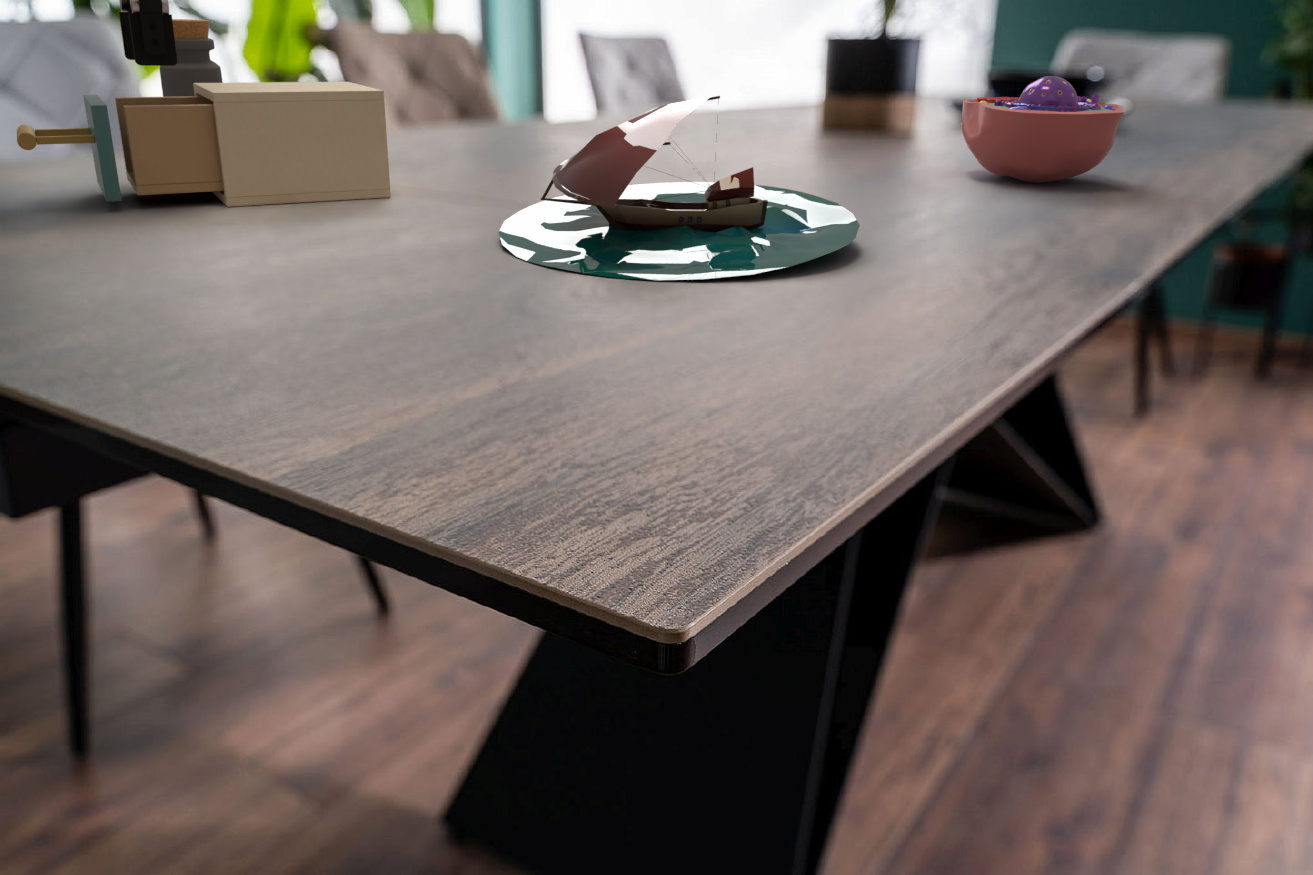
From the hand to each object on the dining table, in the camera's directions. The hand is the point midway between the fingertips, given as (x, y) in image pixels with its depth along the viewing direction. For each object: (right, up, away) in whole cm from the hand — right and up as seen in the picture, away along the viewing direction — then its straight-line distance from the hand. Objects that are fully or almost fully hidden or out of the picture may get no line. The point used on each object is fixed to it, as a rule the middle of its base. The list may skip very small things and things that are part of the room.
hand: (150, 62), depth 94 cm
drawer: (-2, -10, +3) cm, 11 cm away
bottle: (-4, -5, +20) cm, 21 cm away
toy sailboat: (+46, -17, -9) cm, 50 cm away
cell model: (+87, -3, +29) cm, 91 cm away
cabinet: (+10, -9, +9) cm, 16 cm away
